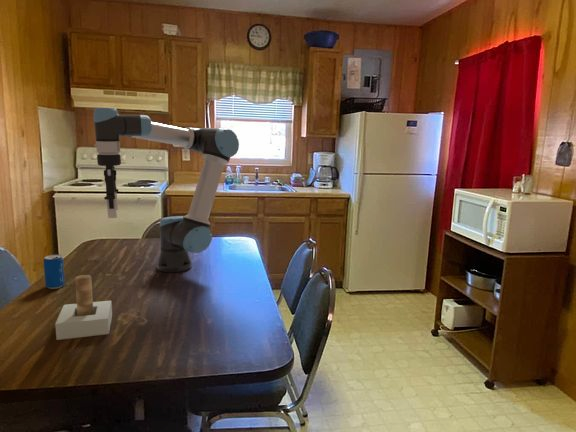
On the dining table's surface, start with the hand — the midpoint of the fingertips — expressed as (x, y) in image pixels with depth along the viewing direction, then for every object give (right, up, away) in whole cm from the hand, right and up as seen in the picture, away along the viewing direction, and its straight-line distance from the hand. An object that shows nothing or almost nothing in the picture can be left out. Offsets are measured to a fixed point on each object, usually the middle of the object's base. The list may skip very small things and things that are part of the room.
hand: (113, 213), depth 148 cm
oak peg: (0, -35, -19) cm, 40 cm away
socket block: (0, -35, -19) cm, 40 cm away
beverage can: (-27, -28, +12) cm, 41 cm away
